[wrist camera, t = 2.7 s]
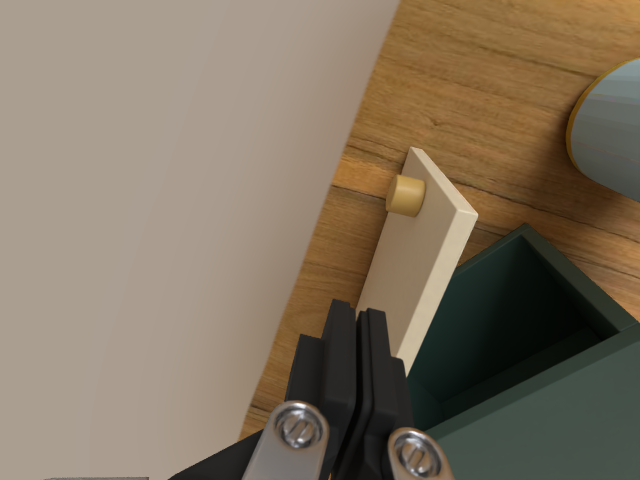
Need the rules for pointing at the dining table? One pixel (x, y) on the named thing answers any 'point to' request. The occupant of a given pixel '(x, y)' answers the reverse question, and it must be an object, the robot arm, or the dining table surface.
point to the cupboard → (529, 370)
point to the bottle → (609, 130)
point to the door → (416, 252)
